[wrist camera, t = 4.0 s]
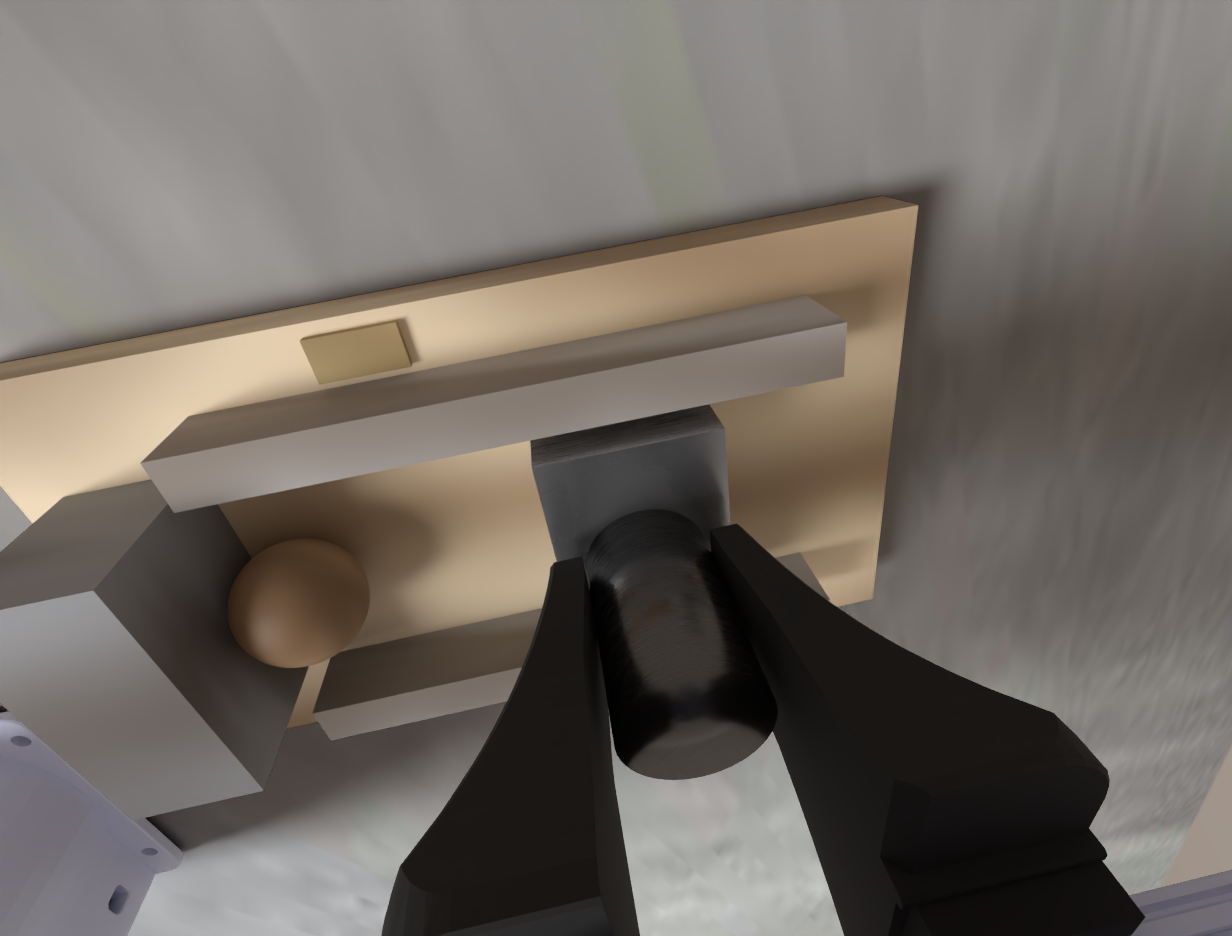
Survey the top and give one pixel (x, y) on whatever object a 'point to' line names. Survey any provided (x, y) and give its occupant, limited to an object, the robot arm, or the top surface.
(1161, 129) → the top surface
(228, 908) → the top surface
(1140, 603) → the top surface
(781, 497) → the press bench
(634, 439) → the press ram
